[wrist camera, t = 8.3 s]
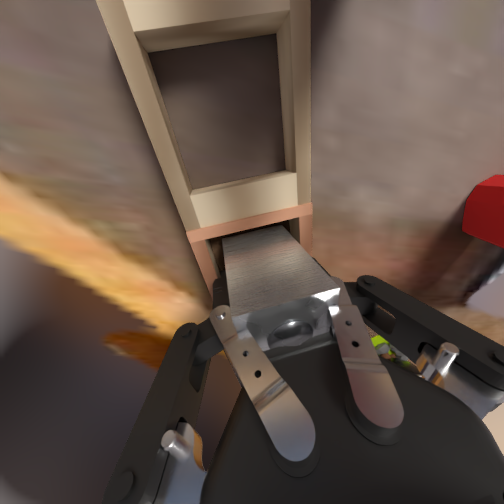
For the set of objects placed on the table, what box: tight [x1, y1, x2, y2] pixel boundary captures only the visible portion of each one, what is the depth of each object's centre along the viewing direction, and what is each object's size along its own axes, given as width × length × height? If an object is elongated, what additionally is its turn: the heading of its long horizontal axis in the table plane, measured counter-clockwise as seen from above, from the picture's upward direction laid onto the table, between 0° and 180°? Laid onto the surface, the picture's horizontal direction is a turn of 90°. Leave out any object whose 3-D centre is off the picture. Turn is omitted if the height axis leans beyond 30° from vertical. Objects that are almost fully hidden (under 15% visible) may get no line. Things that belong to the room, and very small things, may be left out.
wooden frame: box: [96, 0, 312, 300], centre depth 13 cm, size 9×20×2 cm, turn 10°
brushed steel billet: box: [222, 225, 340, 351], centre depth 13 cm, size 5×5×8 cm
